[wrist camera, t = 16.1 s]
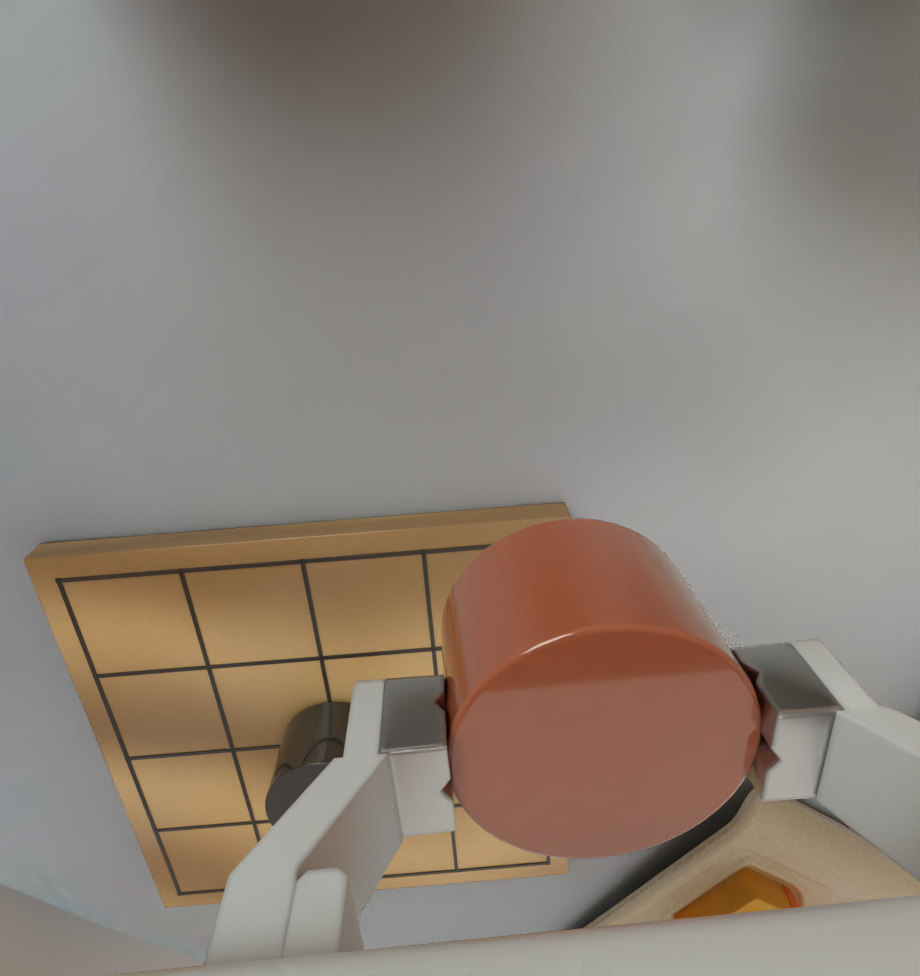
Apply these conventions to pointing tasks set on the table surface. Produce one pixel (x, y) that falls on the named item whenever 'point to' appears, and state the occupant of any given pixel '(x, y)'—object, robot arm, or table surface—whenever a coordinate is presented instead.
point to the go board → (258, 671)
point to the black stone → (305, 753)
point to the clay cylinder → (589, 694)
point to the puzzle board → (766, 869)
